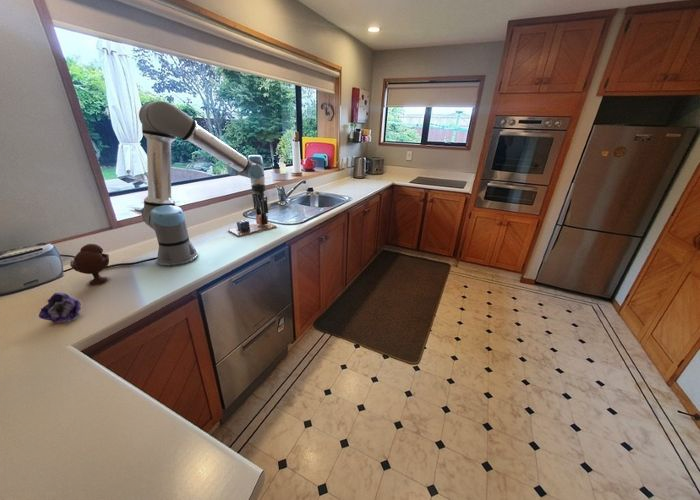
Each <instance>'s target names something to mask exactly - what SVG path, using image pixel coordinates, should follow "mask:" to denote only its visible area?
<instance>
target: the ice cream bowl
mask: <svg viewBox="0 0 700 500" xmlns="http://www.w3.org/2000/svg"><path fill="white" fill-rule="evenodd" d="M103 252H104V249H103V248H102V247H101V246H100V245H98V244H96V243H87V244H85V245H83V246H82V247H80V249H79V252H78V253H77V254H76V255H75V256H74V257H73V260H71V261H70V263H69V266H70V268H72V270H74V271H75V272H78V273H81V274H86V275H92V276H93V278H92V279H91V280H89V283H88V285H89V286H93V287H94V286H100V285H103V284H105V283H107V282H108V277H105V276H101V275H100V272H102V271H104V270H105V269H104V268H106V267H107V266H109V263H110V256H109V254H107V253H103ZM106 269H107V268H106Z"/></svg>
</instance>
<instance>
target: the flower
mask: <svg viewBox="0 0 700 500" xmlns="http://www.w3.org/2000/svg"><path fill="white" fill-rule="evenodd" d="M46 301H47V304H45V305H44V306H43V307H41V308H40V311H39V314H38V317H39V319H42V320H45V321H49V322H51V323H52V324H57V323H63V324H64V323H67V324H68V323H70V322H71V321H74V320H76V319H77V318H79V317H81V309H82V301H81V300H80V299H77V298H75V297H73V296H71V295H69V294H68V293H66V292H54V293H53V294H52V296H51V297H50V298H49V299H47V300H46Z"/></svg>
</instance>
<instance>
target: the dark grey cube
mask: <svg viewBox="0 0 700 500" xmlns="http://www.w3.org/2000/svg"><path fill="white" fill-rule="evenodd" d="M249 225H250V221H249V220H247V219H240V220H236V228H238V230H240V231H241V232H242V231H247V230H250V227H249Z"/></svg>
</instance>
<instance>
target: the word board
mask: <svg viewBox="0 0 700 500" xmlns="http://www.w3.org/2000/svg"><path fill="white" fill-rule="evenodd" d="M249 227H250V230H247V231H242V232H241V231H240V230H238V228H237V227H233V228H229V229H228V232H229V233H231V234H232V235H234V236H236V237H238V238H239V237H243V236H244V237H245V236H247V235H251V234H256V233H259V232H265V231H269V230H272V229H276V228H277V225H275V224H273V223H271V222H269V221H268V224H264V225H259V224H257V222H256V223H251V224H249Z"/></svg>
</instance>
